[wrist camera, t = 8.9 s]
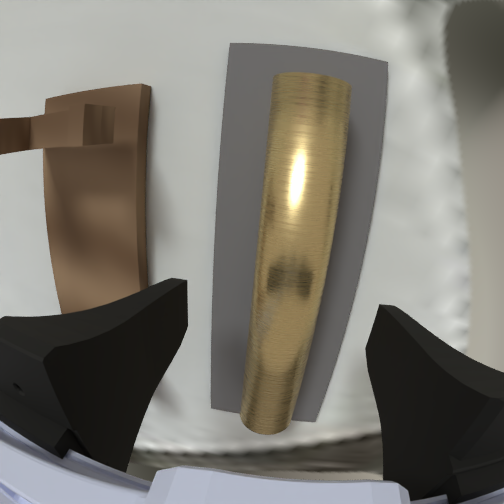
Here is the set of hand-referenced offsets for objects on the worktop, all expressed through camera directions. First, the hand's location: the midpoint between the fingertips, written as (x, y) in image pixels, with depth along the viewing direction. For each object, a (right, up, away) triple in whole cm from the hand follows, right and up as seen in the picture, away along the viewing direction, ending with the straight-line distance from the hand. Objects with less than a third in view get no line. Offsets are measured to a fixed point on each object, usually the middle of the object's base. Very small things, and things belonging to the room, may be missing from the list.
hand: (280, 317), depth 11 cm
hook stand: (-10, +3, +5) cm, 11 cm away
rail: (0, +1, +2) cm, 2 cm away
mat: (+1, +1, +4) cm, 4 cm away
